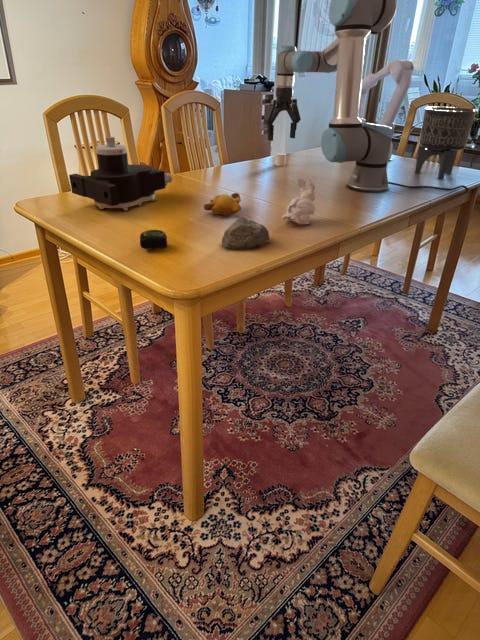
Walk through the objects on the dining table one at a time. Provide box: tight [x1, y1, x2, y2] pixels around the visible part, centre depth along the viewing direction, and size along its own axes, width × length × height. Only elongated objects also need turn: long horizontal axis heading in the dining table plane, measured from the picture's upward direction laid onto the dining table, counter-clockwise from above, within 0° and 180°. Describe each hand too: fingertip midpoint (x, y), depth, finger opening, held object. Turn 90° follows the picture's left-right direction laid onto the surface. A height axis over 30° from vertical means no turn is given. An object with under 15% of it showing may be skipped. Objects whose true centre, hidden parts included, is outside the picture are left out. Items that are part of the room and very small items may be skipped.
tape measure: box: [139, 229, 168, 250], centre depth 117 cm, size 7×7×4 cm
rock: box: [221, 216, 270, 250], centre depth 119 cm, size 13×9×6 cm, turn 131°
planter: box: [414, 106, 477, 180], centre depth 193 cm, size 20×20×26 cm
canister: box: [274, 152, 287, 167], centre depth 211 cm, size 5×5×5 cm
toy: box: [203, 192, 242, 216], centre depth 145 cm, size 11×6×15 cm
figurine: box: [281, 177, 316, 225], centre depth 135 cm, size 8×15×13 cm, turn 145°
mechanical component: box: [68, 136, 173, 211], centre depth 148 cm, size 22×21×30 cm
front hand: (281, 139), depth 206 cm, fingers open, 13 cm apart
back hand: (352, 136), depth 237 cm, fingers open, 7 cm apart
